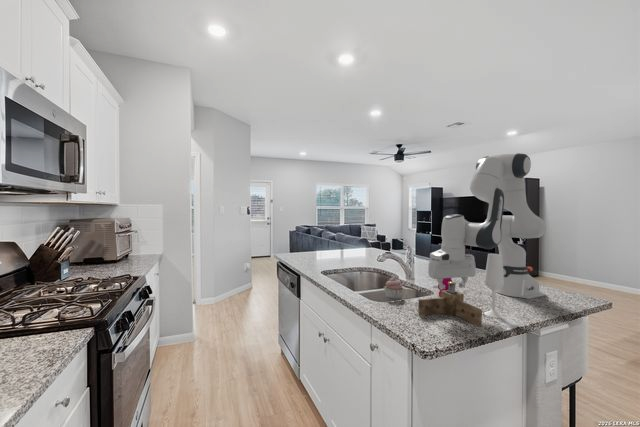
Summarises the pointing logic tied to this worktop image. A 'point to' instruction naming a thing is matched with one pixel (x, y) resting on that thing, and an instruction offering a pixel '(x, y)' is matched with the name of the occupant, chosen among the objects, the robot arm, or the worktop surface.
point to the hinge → (451, 307)
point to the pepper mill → (445, 282)
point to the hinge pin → (452, 287)
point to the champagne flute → (494, 280)
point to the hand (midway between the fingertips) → (452, 288)
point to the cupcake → (393, 289)
